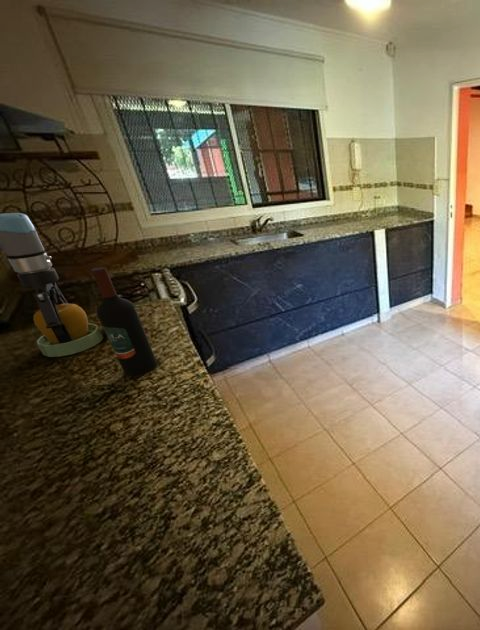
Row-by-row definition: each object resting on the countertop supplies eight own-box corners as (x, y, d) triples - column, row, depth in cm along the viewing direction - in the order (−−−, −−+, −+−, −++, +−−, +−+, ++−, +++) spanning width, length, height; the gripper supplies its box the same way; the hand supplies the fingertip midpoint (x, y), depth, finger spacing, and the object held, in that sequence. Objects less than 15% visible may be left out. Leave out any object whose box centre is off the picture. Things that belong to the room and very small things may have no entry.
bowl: (30, 359, 102) (22, 346, 100) (71, 335, 114) (65, 323, 112) (79, 358, 102) (72, 345, 100) (114, 334, 115) (109, 323, 113)
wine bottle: (161, 369, 97) (121, 268, 84) (128, 381, 92) (80, 276, 79) (154, 359, 102) (114, 262, 88) (122, 370, 97) (75, 269, 83)
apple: (99, 330, 114) (82, 295, 109) (92, 345, 106) (74, 307, 101) (54, 339, 109) (34, 303, 103) (44, 355, 101) (21, 316, 95)
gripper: (45, 278, 91) (81, 349, 100) (60, 258, 107) (90, 320, 117) (4, 284, 87) (46, 357, 96) (26, 262, 103) (60, 326, 113)
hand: (70, 337), depth 107 cm, fingers closed on apple, 11 cm apart
